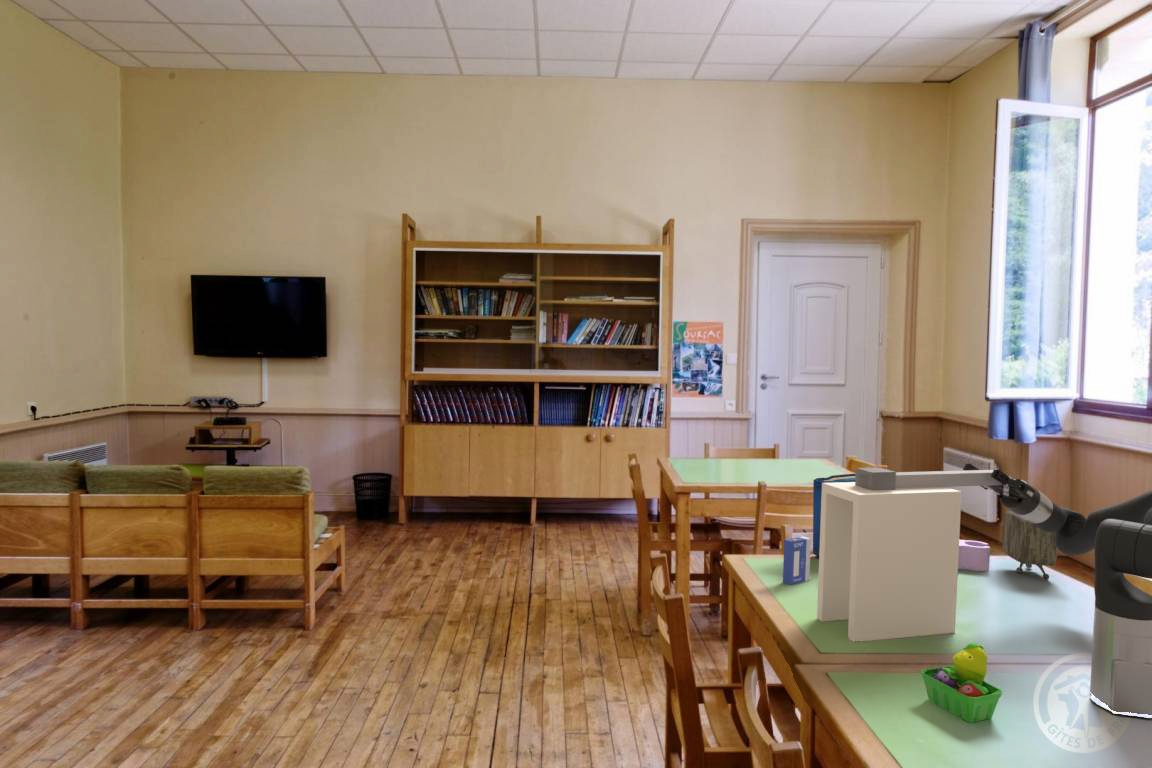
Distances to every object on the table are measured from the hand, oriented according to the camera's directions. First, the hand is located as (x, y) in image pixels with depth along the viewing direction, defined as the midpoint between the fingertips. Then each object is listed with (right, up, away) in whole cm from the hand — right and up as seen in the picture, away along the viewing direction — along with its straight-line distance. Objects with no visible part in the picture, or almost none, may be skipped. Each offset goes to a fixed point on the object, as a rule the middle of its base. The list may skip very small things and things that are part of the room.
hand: (979, 469), depth 173 cm
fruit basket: (-27, -37, -43) cm, 63 cm away
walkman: (-35, -34, +27) cm, 55 cm away
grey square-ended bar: (-13, -3, -3) cm, 14 cm away
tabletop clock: (+35, -34, +38) cm, 62 cm away
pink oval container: (+17, -34, +46) cm, 60 cm away
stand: (-24, -35, -4) cm, 43 cm away
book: (-13, -33, +51) cm, 62 cm away
